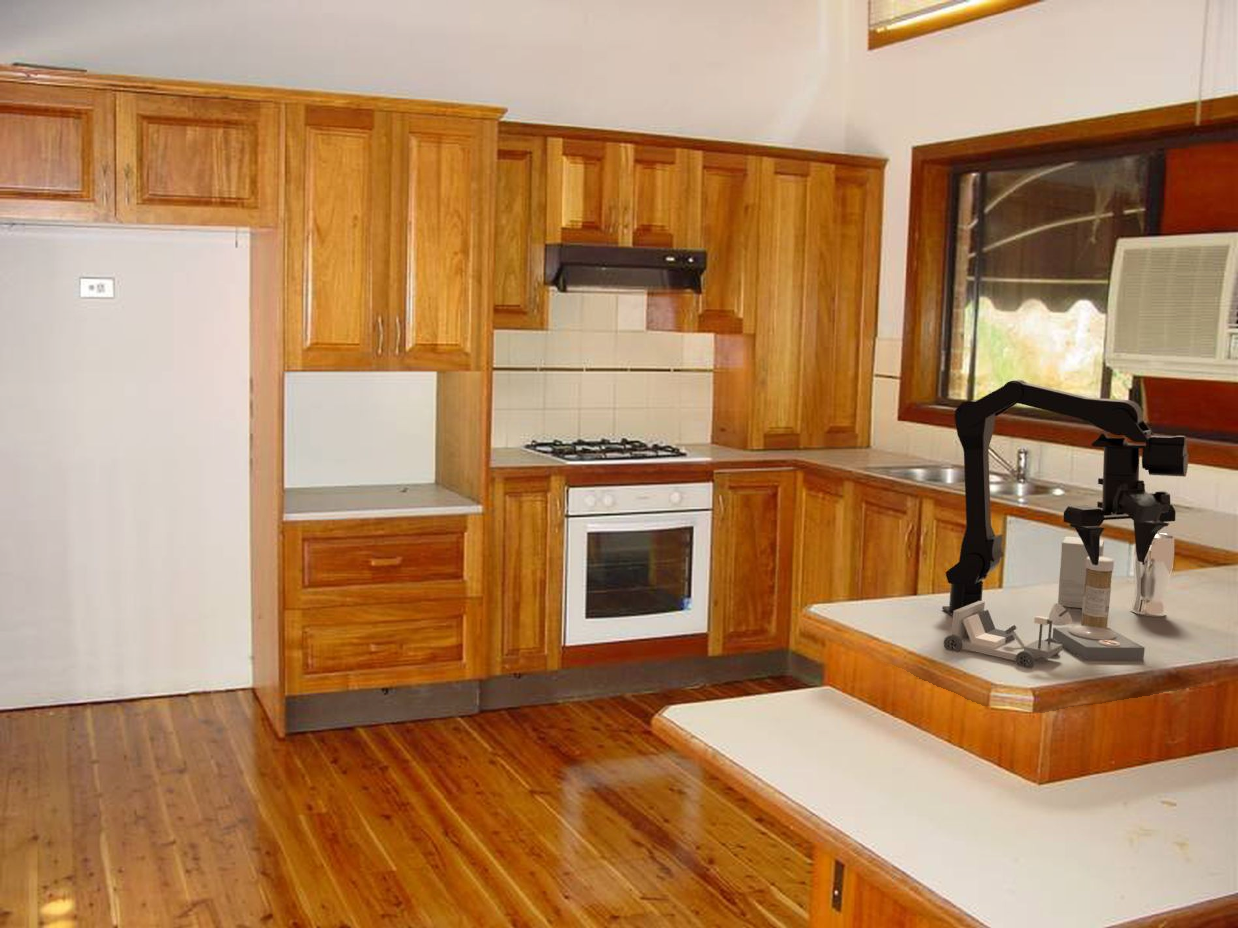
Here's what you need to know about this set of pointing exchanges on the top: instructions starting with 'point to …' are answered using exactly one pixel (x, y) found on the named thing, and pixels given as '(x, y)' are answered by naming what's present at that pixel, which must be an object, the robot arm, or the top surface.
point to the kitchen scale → (1098, 643)
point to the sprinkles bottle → (1097, 592)
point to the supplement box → (1073, 572)
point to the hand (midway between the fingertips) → (1118, 563)
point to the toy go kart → (1003, 635)
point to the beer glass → (1153, 576)
